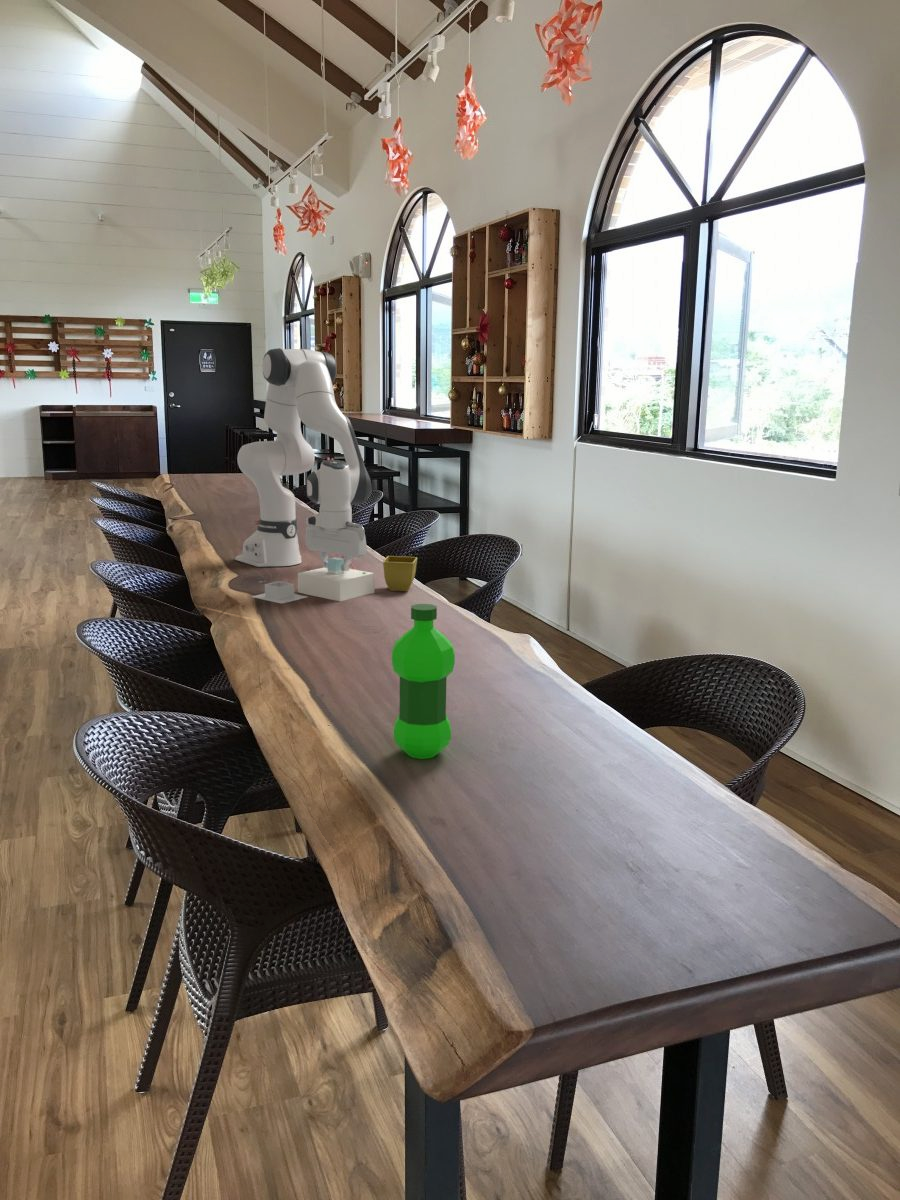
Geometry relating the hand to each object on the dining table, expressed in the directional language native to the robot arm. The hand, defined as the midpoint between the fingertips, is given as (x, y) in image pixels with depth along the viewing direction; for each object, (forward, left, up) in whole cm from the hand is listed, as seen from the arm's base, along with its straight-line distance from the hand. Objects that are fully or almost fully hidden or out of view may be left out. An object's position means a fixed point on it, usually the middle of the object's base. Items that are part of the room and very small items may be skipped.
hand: (336, 569), depth 266 cm
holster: (-8, -14, -7) cm, 18 cm away
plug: (0, 0, -6) cm, 6 cm away
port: (0, 0, -7) cm, 7 cm away
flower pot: (+10, +16, -7) cm, 20 cm away
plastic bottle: (+89, -74, -7) cm, 116 cm away
